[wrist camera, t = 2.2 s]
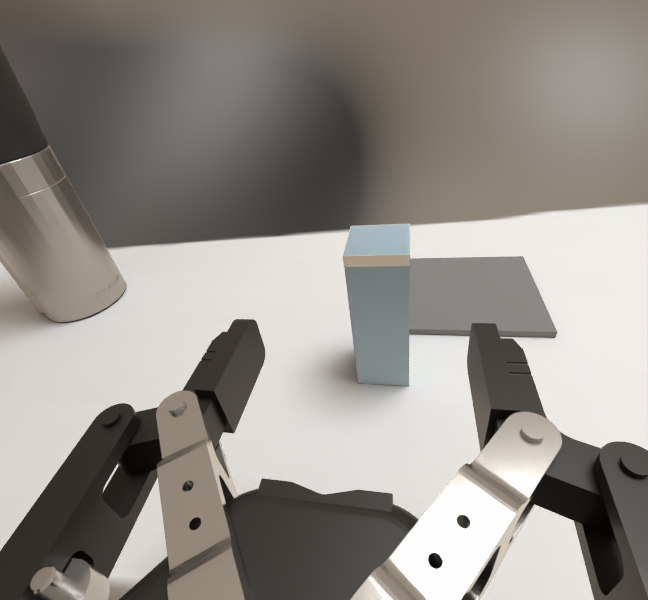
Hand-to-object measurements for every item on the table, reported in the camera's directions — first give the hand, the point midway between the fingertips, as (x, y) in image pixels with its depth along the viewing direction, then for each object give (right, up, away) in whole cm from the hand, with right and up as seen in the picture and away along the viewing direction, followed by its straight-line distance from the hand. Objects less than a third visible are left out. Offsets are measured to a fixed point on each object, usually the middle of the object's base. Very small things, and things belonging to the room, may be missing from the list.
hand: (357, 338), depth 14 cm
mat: (+12, +2, +23) cm, 27 cm away
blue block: (+4, -4, +17) cm, 18 cm away
